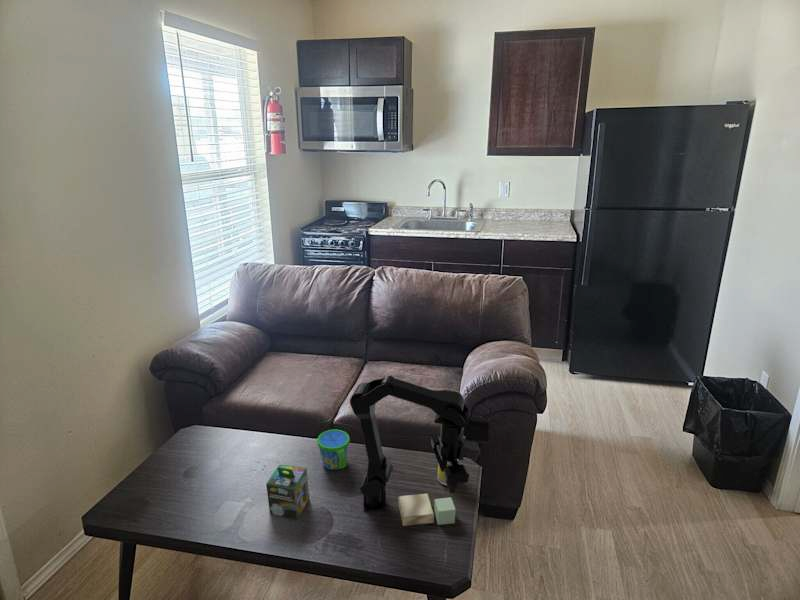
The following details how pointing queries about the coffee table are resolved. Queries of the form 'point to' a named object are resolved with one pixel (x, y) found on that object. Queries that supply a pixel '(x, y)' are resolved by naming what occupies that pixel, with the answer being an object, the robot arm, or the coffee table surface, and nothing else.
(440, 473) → the supplement bottle
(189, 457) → the coffee table surface
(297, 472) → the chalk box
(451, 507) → the sage cube
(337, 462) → the snack cup
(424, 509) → the oak riser block
